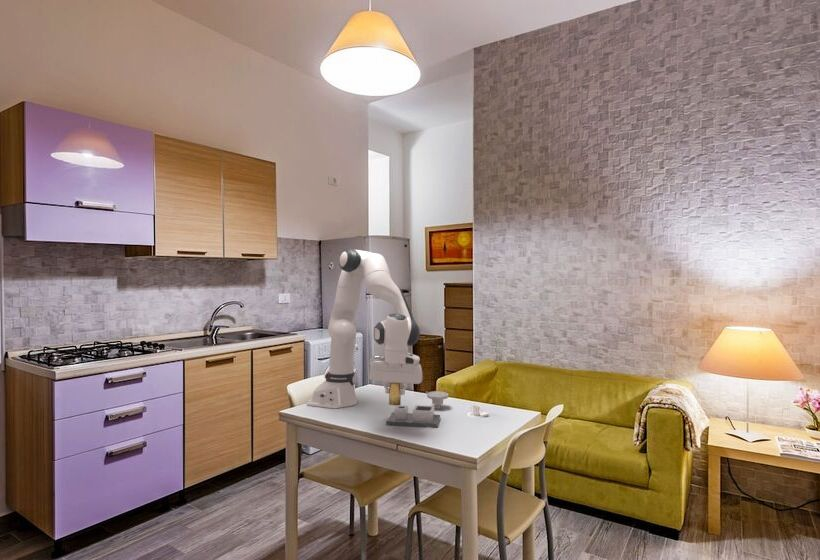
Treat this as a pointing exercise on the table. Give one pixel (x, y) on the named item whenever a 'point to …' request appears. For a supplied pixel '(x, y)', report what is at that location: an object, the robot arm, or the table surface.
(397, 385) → the cylinder
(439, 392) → the showerhead
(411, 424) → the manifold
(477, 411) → the teacup and saucer
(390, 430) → the table surface
